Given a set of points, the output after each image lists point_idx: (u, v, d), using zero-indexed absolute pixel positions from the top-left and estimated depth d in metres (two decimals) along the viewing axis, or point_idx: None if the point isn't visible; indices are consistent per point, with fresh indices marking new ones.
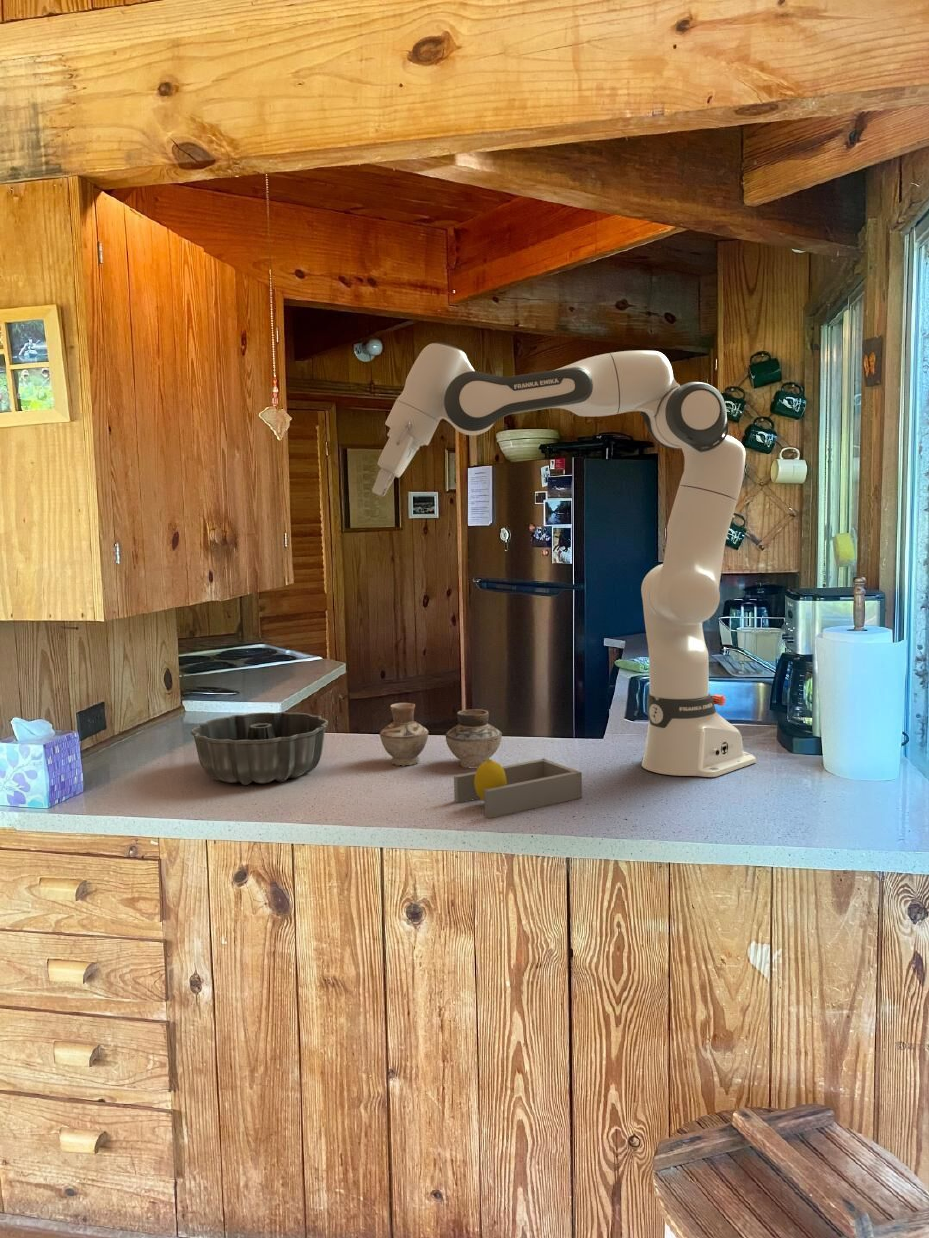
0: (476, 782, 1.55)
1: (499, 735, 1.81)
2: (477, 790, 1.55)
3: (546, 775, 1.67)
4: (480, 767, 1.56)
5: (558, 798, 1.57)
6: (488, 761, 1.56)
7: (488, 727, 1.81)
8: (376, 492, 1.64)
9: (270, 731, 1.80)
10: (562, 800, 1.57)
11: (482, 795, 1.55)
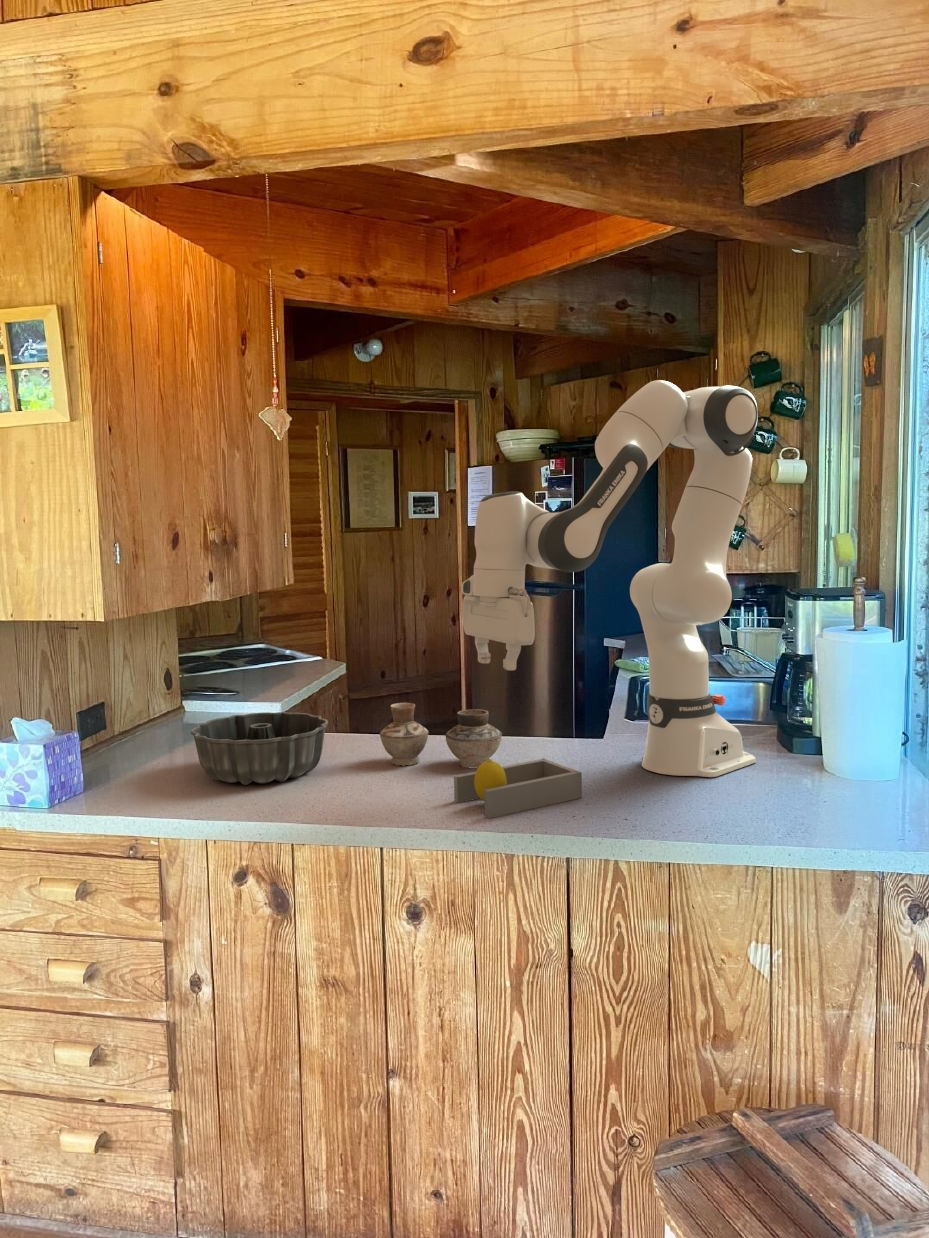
0: (476, 782, 1.55)
1: (499, 735, 1.81)
2: (477, 790, 1.55)
3: (546, 775, 1.67)
4: (480, 767, 1.56)
5: (558, 798, 1.57)
6: (488, 761, 1.56)
7: (488, 727, 1.81)
8: (511, 668, 1.54)
9: (270, 731, 1.80)
10: (562, 800, 1.57)
11: (482, 795, 1.55)
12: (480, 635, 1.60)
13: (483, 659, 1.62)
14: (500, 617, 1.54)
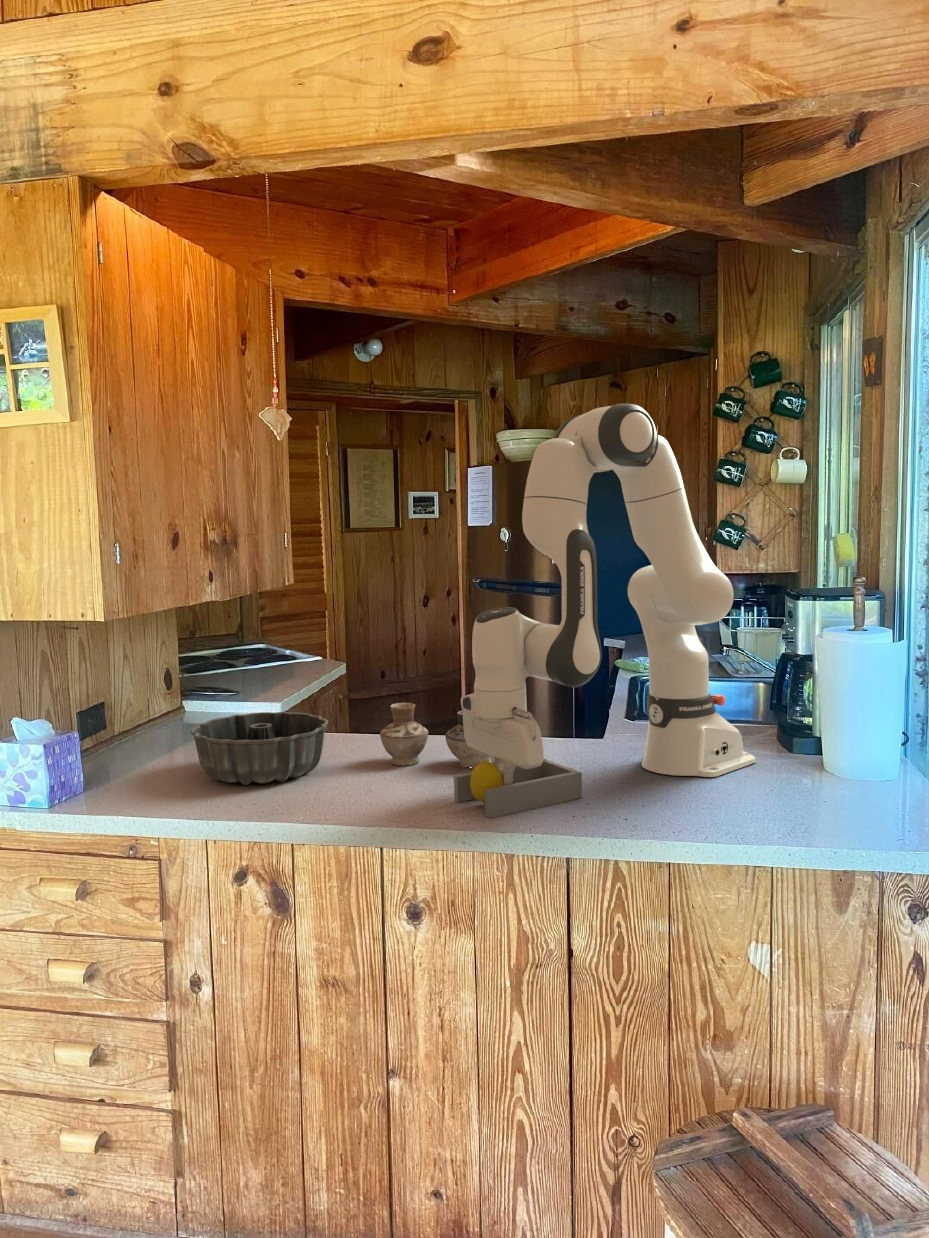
0: (472, 783, 1.55)
1: None
2: (473, 791, 1.55)
3: (546, 775, 1.67)
4: (476, 768, 1.55)
5: (558, 798, 1.57)
6: (484, 762, 1.55)
7: None
8: (508, 782, 1.57)
9: (270, 731, 1.80)
10: (562, 800, 1.57)
11: (478, 796, 1.54)
12: (485, 751, 1.59)
13: None
14: (506, 738, 1.53)
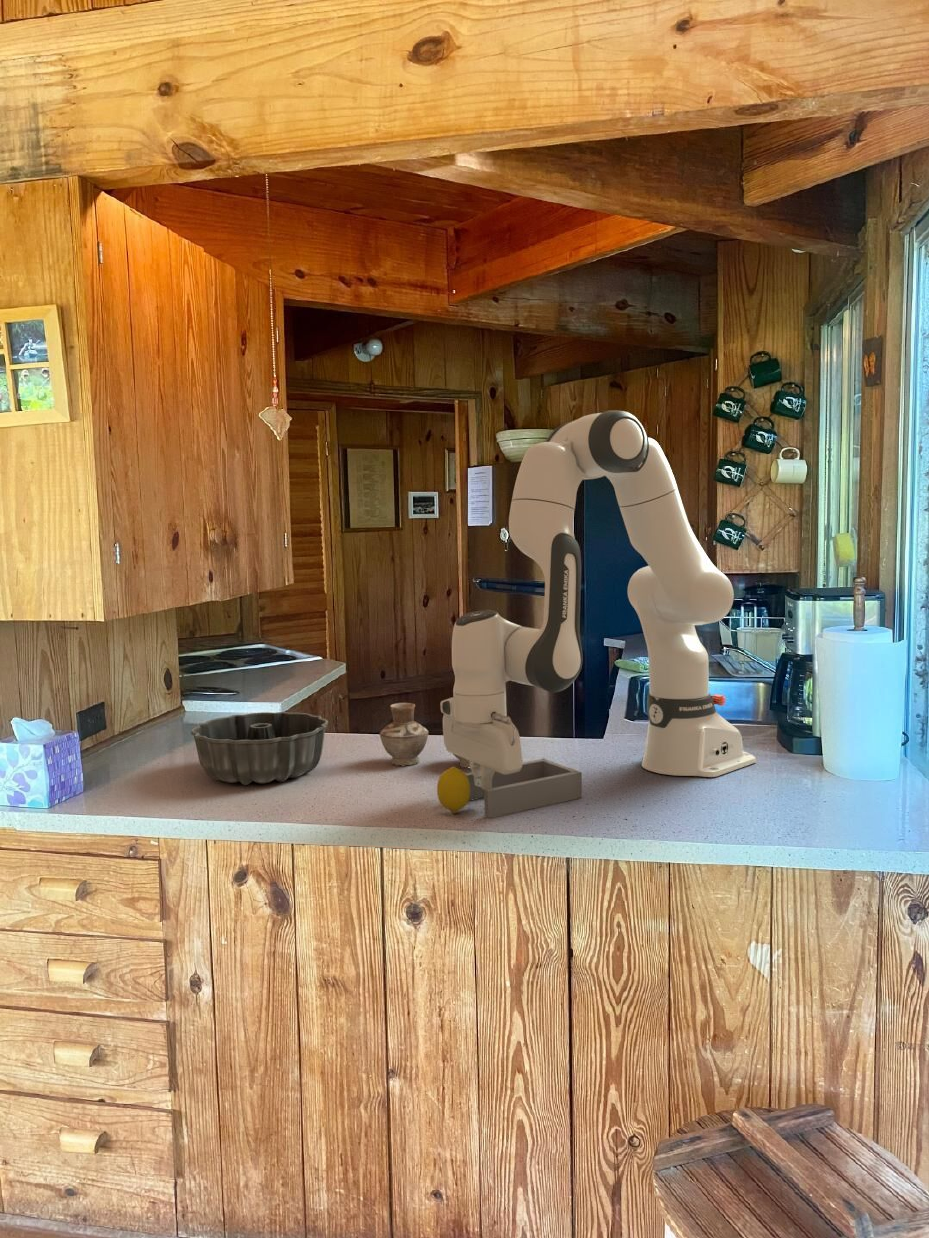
0: (439, 790, 1.52)
1: None
2: (440, 798, 1.52)
3: (546, 775, 1.67)
4: (443, 774, 1.52)
5: (558, 798, 1.57)
6: (451, 768, 1.52)
7: None
8: (487, 788, 1.55)
9: (270, 731, 1.80)
10: (562, 800, 1.57)
11: (445, 803, 1.51)
12: (464, 756, 1.57)
13: None
14: (485, 743, 1.51)
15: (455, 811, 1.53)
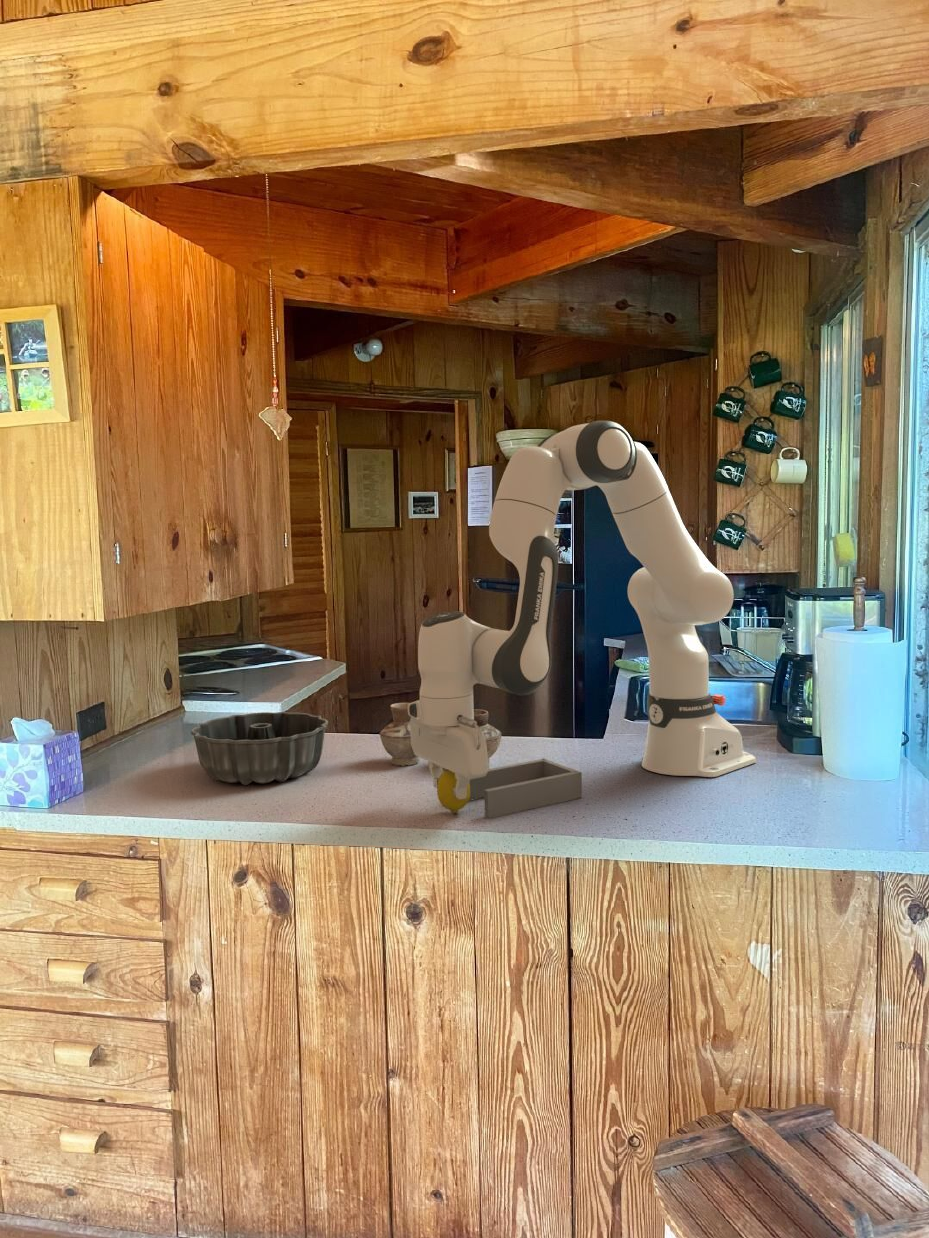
0: (439, 790, 1.52)
1: (499, 735, 1.81)
2: (440, 798, 1.52)
3: (546, 775, 1.67)
4: (443, 774, 1.52)
5: (558, 798, 1.57)
6: None
7: (488, 727, 1.81)
8: (462, 797, 1.49)
9: (270, 731, 1.80)
10: (562, 800, 1.57)
11: (445, 803, 1.51)
12: (431, 760, 1.54)
13: None
14: (451, 747, 1.48)
15: (455, 811, 1.53)
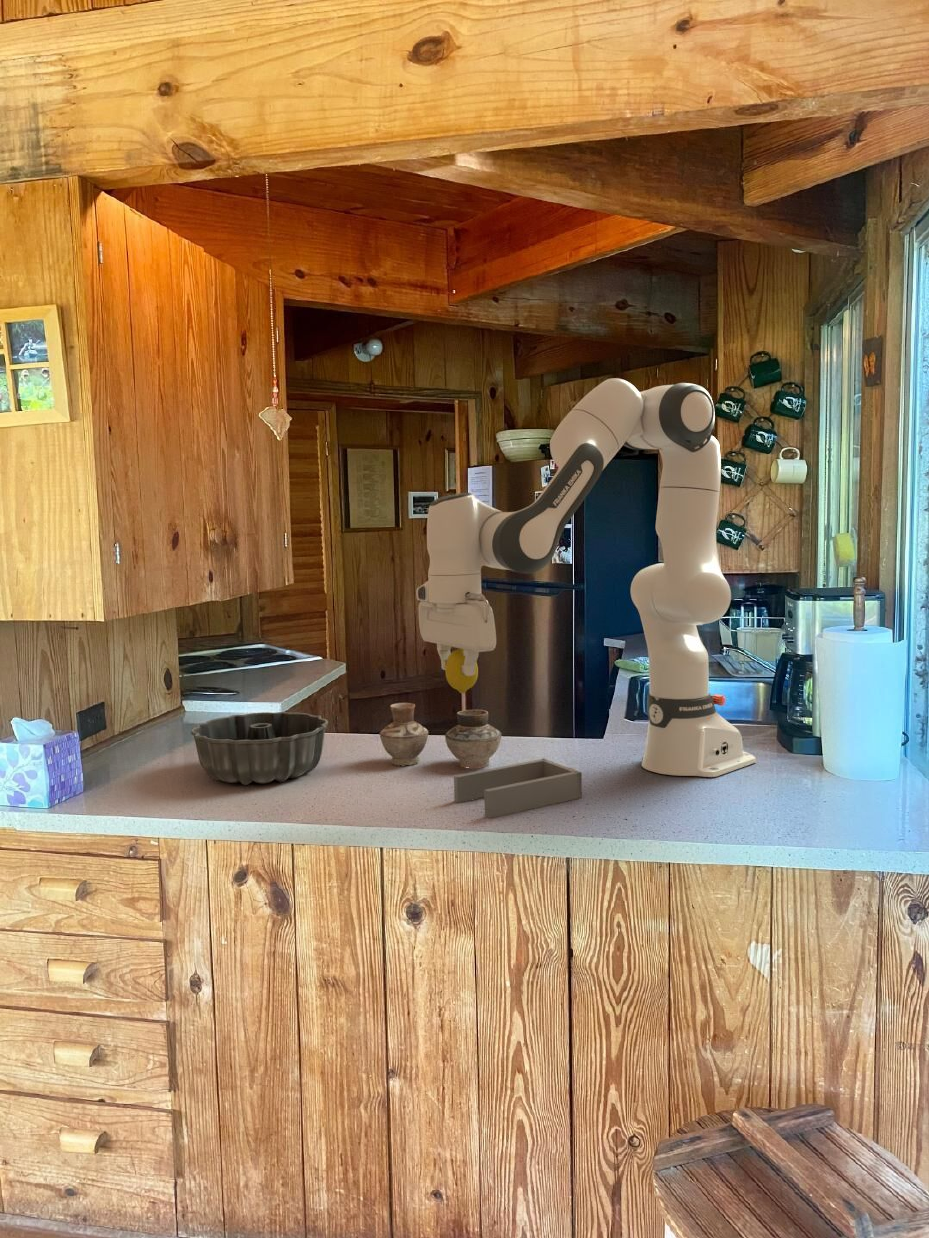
0: (447, 669, 1.54)
1: (499, 735, 1.81)
2: (448, 677, 1.54)
3: (546, 775, 1.67)
4: (451, 654, 1.55)
5: (558, 798, 1.57)
6: (459, 648, 1.55)
7: (488, 727, 1.81)
8: (470, 674, 1.52)
9: (270, 731, 1.80)
10: (562, 800, 1.57)
11: (453, 682, 1.54)
12: (439, 642, 1.56)
13: None
14: (459, 624, 1.50)
15: (463, 691, 1.55)
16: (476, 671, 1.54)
